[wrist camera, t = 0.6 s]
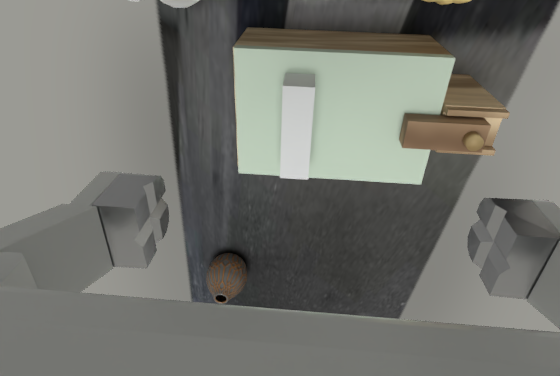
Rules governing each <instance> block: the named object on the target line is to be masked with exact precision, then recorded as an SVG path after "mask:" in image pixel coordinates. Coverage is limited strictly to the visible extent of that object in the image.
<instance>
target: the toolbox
mask: <svg viewBox="0 0 560 376" xmlns="http://www.w3.org/2000/svg"><path fill="white" fill-rule="evenodd" d="M235 45H246V46H268V47H290V48H312V49H335V50H357V51H379V52H401V53H424V54H446V55H452V54H450V53H449V52H448V51H447V50H446V49H445V48H444V47H442V46H441V45H440V44H439V43H438V42H437V41H435V40H434V39H433V38H432V37H431V36H430V35H415V34H391V33H368V32H344V31H321V30H297V29H274V28H250V27H248V28H247V29H246V30H245V32H244V33H243V34H242V36H241V37H240V38H239V39H238V41H237V42H236V43H235ZM235 45H234V46H233V62H234V47H235ZM234 86H235V71H234ZM235 110H236V95H235ZM440 115H445V116H463V117H482V118H485V119H486V121H487V122H488V123H489V124H490V125H491V128H490V131H489V133H488V136H487V139H486V142H485V144H484V147H483V150H482V153H478V152H461V151H444V150H435V151H436V152H442V153H459V154H476V155H494V153H495V149H494V148H493V147H492V145H493V142H494V139H495V137H496V134H497V131H498V129H499V126H500V123H501V121H502V118H505V119H506V118H507V119H508V117H509V112H508V111H507V110H506V108H505V107H504V106H503V105H502V104H501V103H500V102H499V101H497V100H496V99H495V98H494V97H493V96H492V95H491V94H490V93H489V92H488V91H486V90H485V89H484V88H483V87H482V86H481V85H480V84H479V83H478V82H476V81H475V80H474V79H473V78H472V77H471V76H470V75H461V74H451V77H450V80H449V84H448V88H447V91H446V95H445V99H444V102H443V106H442V110H441V113H440ZM236 134H237V119H236ZM237 157H238V144H237Z"/></svg>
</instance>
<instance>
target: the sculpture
mask: <svg viewBox="0 0 560 376" xmlns="http://www.w3.org/2000/svg"><path fill="white" fill-rule="evenodd" d="M423 1H426V2H437V3H438V4H440V5H444V4H451V3H457V4H458V3H465V2H469V1H471V0H423Z"/></svg>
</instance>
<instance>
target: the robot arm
mask: <svg viewBox="0 0 560 376" xmlns="http://www.w3.org/2000/svg"><path fill="white" fill-rule="evenodd" d="M164 192H165V185H164V180H163V179H162V178H161V176H157V175H144V174H132V173H122V172H106V171H105V172H100V173H99V174H98V175H97V176H96V177H95V178H94V179H93V181H91V182H90V183H89V184H88V186H86V187H85V188H84V189H83V190H82V192H80V194H79V195H78V196H77V197H76V198H75V199H74V200H73V201H72V202H71V203H70V204H61V205H59V206H56V207H54V208H51V209H49V210H46V211H43V212H41V213H38V214H36V215H33V216H31V217H28V218H26V219H23V220H21V221H18V222H16V223H13V224H10V225H8V226H5V227H3V228H0V376H560V332H550V331H538V330H525V329H513V328H501V327H489V326H477V325H465V324H452V323H441V322H429V321H417V320H405V319H393V318H381V317H368V316H356V315H344V314H332V313H320V312H308V311H296V310H284V309H272V308H260V307H248V306H236V305H224V304H212V303H200V302H188V301H176V300H164V299H152V298H139V297H127V296H116V295H104V294H103V295H102V294H92V293H80V292H81V291H83V290H84V289H85V288H87V287H88V286H90V285H91V284H92V283H94V282H95V281H97V280H98V279H99V278H101V277H102V276H104V275H105V274H106V273H108V272H109V271H110V270H112V269H113V267H129V268H147V267H148V265H149V264H150V262H151V260H152V258H153V256H154V254H155V253H156V244H155V243H157V242H158V241H160V240H162V239H163V237H164V235H165V233H166V231H167V227H168V222H169V211H168V205H167V204H166V203H165V201H164V200H163V199H162V198H161V197H162V195H163V194H164ZM477 213H478V215H479V218H480V220H479V221H478V222H476V223H475V224H474V225H472V226H471V229H470V232H469V235H468V251H469V255H470V257H471V259H472V262H473V263H475V264H476V265H477V266H479V267H480V268H482V270H481V272H480V277H481V279H482V281H483V283H484V285H485V287H486V289H487V291H488V293H489V295H490V296H499V297H509V298H518V299H527V302H528V303H530V304H531V305H532V306H533V307H535V308H536V309H537V310H538V311H539V312H540V313H541V314H543V315H544V316H545V317H546V318H547V319H548V320H550V321H551V322H552V323H553V324H554V325H555V326H557V327H558V328H559V329H560V208H559V207H558V206H557V205H556V204H555V203H554V202H551V201H549V200H523V199H498V198H484V199H483V200H482V202H481V203H480V205H479V208H478V210H477Z"/></svg>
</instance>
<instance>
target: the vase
mask: <svg viewBox="0 0 560 376" xmlns="http://www.w3.org/2000/svg"><path fill="white" fill-rule="evenodd" d="M246 279H247V268H246V265H245V262H244V261H243V260H242V258H240V257H239V256H238V255H236V254H233V253H224V254H221V255H219V256H217V257H216V258H215V259H214V260H213V261H212V262H211V264H210V266H209V268H208V271H207V277H206V280H207V286H208V288H209V290H210V292H211V293H212V295H213V298H214V300H215V301H216V302H217V303H220V304H224V303H227V302H228V301H229V299H231V298H233V297H235V296H236V295H238V294H239V293H240V292H241V290H242V289H243V287H244V285H245V283H246Z"/></svg>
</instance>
